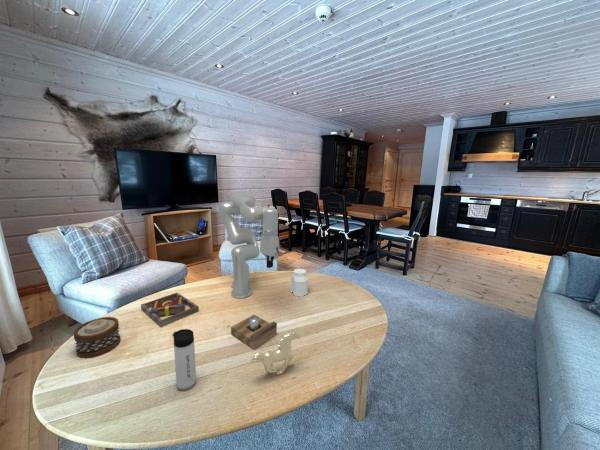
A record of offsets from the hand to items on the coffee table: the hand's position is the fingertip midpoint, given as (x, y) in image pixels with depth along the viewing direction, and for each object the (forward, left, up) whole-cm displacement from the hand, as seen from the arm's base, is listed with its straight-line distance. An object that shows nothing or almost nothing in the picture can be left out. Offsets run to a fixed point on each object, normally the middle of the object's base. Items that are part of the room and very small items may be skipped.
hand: (269, 267), depth 126 cm
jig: (+7, -17, -27) cm, 33 cm away
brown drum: (-36, -65, -27) cm, 79 cm away
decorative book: (-43, -33, -27) cm, 61 cm away
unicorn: (+31, -27, -27) cm, 49 cm away
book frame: (-43, -33, -27) cm, 61 cm away
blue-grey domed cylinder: (+7, -17, -27) cm, 33 cm away
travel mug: (+10, -51, -27) cm, 59 cm away
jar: (-4, +31, -27) cm, 42 cm away
